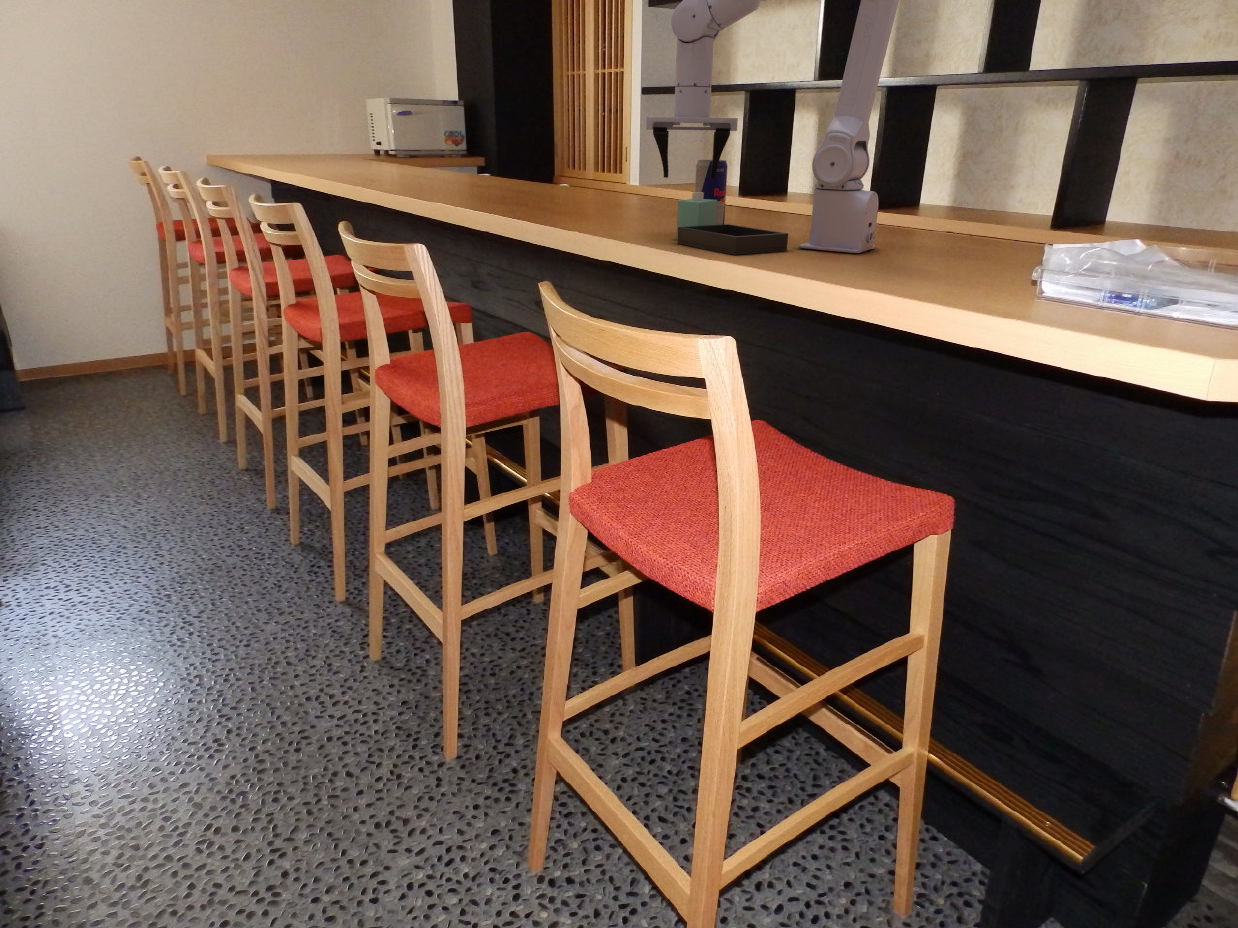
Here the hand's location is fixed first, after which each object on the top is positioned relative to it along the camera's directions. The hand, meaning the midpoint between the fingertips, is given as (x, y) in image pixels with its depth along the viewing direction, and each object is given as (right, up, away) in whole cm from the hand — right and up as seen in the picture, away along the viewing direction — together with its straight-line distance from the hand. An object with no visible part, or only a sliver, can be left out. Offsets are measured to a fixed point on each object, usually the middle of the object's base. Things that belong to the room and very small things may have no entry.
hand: (689, 178), depth 138 cm
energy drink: (+4, -6, +10) cm, 13 cm away
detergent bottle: (+1, -10, +1) cm, 10 cm away
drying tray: (+6, -13, -8) cm, 17 cm away
